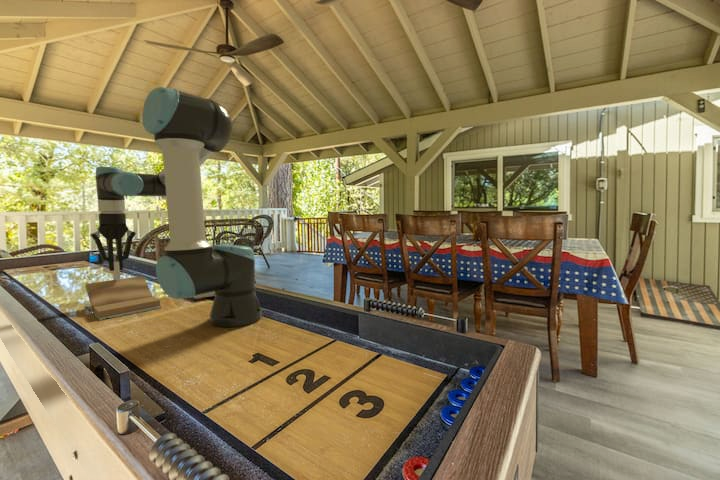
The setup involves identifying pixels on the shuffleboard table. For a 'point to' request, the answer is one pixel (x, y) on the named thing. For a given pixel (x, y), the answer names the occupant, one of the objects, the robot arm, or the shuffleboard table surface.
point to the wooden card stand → (125, 307)
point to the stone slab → (210, 294)
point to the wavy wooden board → (117, 291)
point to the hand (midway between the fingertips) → (116, 279)
